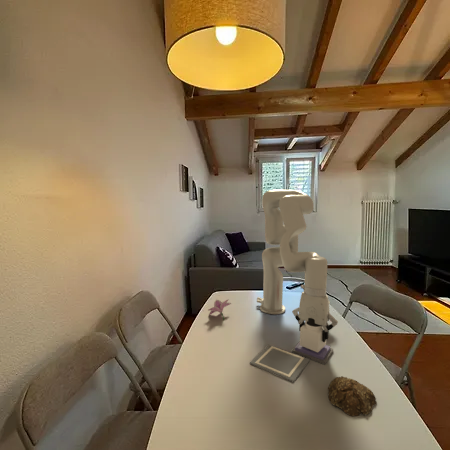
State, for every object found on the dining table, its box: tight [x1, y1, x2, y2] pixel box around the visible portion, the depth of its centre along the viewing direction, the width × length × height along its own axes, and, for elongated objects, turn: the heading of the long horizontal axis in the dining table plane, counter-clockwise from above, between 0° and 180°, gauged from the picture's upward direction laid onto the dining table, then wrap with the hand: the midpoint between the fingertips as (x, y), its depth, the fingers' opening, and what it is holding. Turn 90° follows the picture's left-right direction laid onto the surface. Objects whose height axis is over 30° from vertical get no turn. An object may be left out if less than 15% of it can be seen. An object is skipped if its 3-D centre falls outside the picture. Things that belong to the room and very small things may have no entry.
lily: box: [207, 299, 232, 320], centre depth 131 cm, size 12×12×10 cm
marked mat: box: [249, 344, 311, 383], centre depth 97 cm, size 16×14×1 cm
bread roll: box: [327, 375, 377, 417], centre depth 80 cm, size 13×12×5 cm
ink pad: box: [291, 340, 334, 365], centre depth 103 cm, size 12×10×2 cm
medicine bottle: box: [299, 318, 327, 352], centre depth 102 cm, size 7×7×12 cm
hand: (313, 336), depth 103 cm, fingers closed on medicine bottle, 7 cm apart
